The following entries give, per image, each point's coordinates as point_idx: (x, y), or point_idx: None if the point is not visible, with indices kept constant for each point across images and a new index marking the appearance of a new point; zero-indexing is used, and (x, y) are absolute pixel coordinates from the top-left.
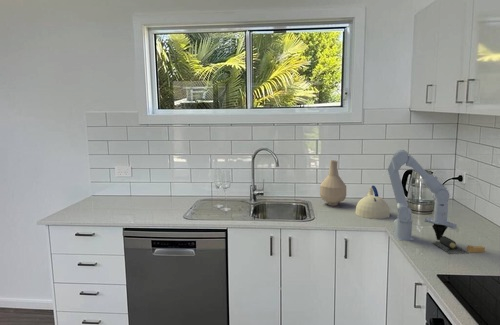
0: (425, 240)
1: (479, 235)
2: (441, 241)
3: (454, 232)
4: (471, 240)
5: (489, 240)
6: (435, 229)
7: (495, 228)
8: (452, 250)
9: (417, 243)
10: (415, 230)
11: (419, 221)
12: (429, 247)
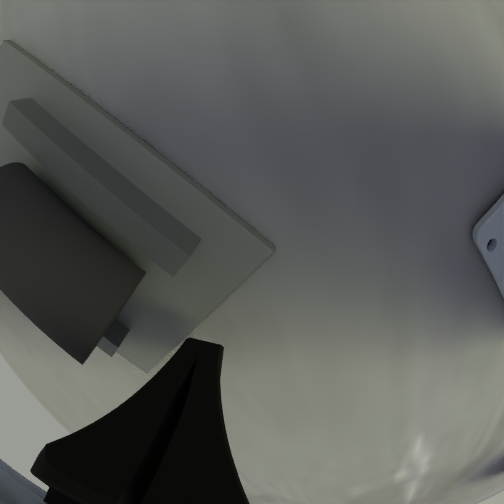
0: (359, 311)
1: None
2: (96, 251)
3: None
4: None
5: None
6: (197, 470)
7: None
8: (12, 159)
9: (421, 124)
10: (440, 437)
11: (405, 494)
12: (219, 62)
